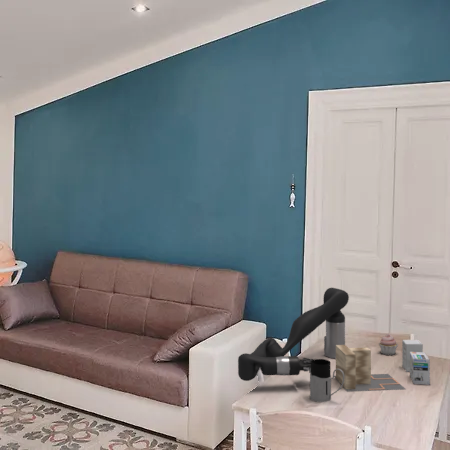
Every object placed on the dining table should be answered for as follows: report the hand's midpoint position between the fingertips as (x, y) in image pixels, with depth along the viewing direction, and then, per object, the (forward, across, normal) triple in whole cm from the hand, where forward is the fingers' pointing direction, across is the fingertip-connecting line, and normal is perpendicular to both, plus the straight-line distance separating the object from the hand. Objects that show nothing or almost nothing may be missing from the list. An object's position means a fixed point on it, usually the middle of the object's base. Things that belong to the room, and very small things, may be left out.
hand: (328, 364), depth 217 cm
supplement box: (+43, -18, -9) cm, 47 cm away
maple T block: (+11, 0, -8) cm, 14 cm away
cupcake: (+41, -42, -9) cm, 60 cm away
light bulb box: (+40, -4, -9) cm, 41 cm away
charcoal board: (+17, 0, -9) cm, 19 cm away
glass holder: (-5, +16, -9) cm, 20 cm away
